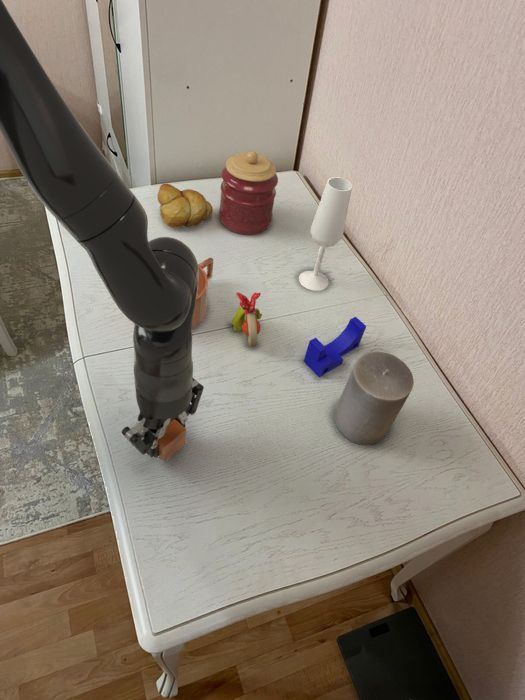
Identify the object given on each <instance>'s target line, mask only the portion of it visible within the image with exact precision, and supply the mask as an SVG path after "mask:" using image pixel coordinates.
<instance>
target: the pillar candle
mask: <svg viewBox="0 0 525 700" xmlns="http://www.w3.org/2000/svg"><path fill="white" fill-rule="evenodd" d="M412 373H413V372H412V371H411V369H410V368H409V366H408V365H407V364H406V362H404V361H403V360H402V359H400V358H399V357H397V356H395V355H394V354H392V353H389V352H385V351H377V350H376V351H370V352H366V353H364V354H362V355H360V356H359V357H358V358H356V359H355V360H354V363H353V365H352V369H351V372H350V374H349V376H348V379H347V381H346V383H345V386H344V388H343V391H342V393H341V395H340V398H339V400H338V403H337V405H336V408H335V410H334V414H333V418H334V419H333V421H334V424H335V426H336V427H337V429H338V431H339V432H340V433H341V434H342V436H343V437H344V438H346V439H347V440H348V441H350V442H352V443H355V444H357V445H362V446H368V445H375V444H377V443H379V442H381V441H383V439H384V438H385V437H386V435H387V433H388V432H389V430H390V429H391V427H392V425H393V423H394V422H395V420H396V418H397V417H398V415H399V414H400V411H401V410H402V408H403V406H404V404H405V403H406V402H407V399H408V398H409V395H410V394H411V393H412V390H413V387H414V384H415V381H414V376H413V374H412Z"/></svg>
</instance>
